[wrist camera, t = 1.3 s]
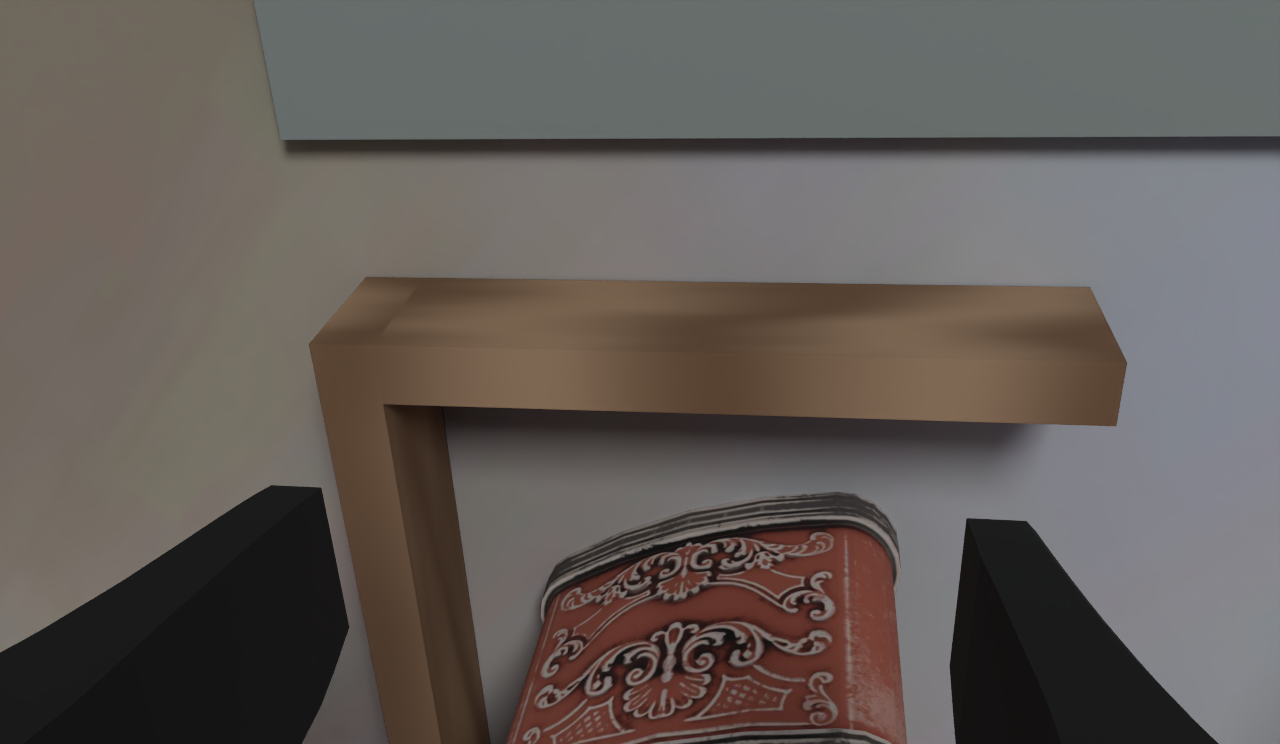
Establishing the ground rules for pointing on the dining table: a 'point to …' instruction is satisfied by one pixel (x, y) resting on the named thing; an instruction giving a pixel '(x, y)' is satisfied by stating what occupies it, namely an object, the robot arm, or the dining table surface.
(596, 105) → the mat
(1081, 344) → the wooden u-shaped frame
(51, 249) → the dining table surface
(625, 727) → the lighter
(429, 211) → the dining table surface
